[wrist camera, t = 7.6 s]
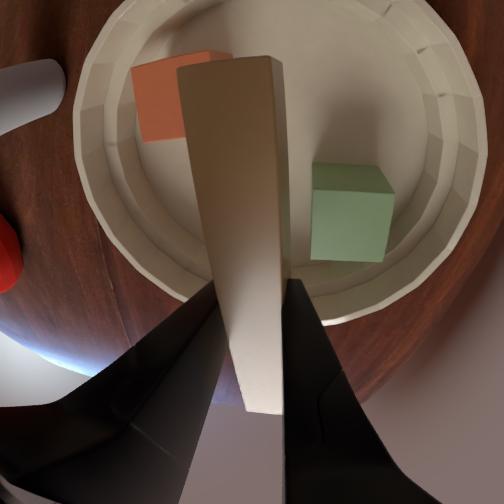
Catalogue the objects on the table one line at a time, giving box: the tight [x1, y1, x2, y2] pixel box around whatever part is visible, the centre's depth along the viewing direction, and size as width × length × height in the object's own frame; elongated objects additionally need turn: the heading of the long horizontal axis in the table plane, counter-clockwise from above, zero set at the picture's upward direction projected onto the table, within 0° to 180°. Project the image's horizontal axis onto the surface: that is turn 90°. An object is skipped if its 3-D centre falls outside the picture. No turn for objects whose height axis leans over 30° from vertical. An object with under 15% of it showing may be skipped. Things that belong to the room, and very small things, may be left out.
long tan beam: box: [176, 55, 291, 415], centre depth 8 cm, size 2×12×2 cm, turn 5°
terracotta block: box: [131, 50, 233, 143], centre depth 13 cm, size 4×4×4 cm
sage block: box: [310, 163, 396, 262], centre depth 15 cm, size 4×4×4 cm
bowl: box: [73, 0, 488, 326], centre depth 14 cm, size 21×21×5 cm
